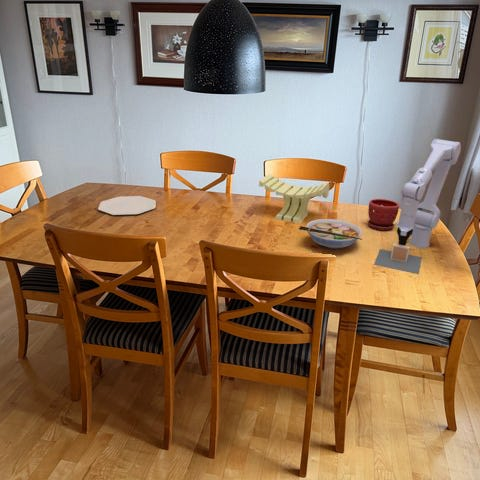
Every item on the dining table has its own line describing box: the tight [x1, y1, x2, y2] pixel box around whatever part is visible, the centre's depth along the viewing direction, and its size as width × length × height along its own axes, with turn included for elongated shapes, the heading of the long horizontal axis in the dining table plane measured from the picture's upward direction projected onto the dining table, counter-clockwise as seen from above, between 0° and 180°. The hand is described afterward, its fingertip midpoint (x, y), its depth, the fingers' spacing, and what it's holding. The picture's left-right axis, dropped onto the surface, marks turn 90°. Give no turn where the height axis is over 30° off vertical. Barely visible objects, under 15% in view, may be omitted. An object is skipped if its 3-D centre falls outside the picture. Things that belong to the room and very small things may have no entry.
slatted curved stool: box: [258, 173, 330, 224], centre depth 204 cm, size 30×16×18 cm, turn 66°
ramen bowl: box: [298, 218, 363, 249], centre depth 176 cm, size 25×23×8 cm
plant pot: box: [367, 198, 400, 231], centre depth 196 cm, size 13×13×12 cm
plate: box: [97, 195, 157, 216], centre depth 213 cm, size 28×28×2 cm
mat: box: [373, 248, 423, 275], centre depth 164 cm, size 16×16×1 cm
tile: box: [390, 243, 411, 262], centre depth 163 cm, size 2×6×6 cm, turn 65°
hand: (401, 246), depth 167 cm, fingers closed
